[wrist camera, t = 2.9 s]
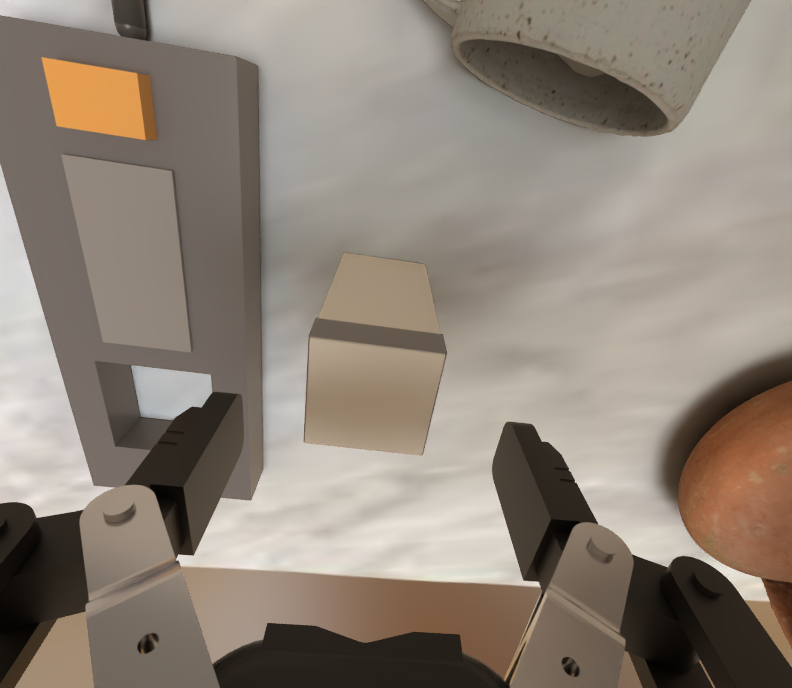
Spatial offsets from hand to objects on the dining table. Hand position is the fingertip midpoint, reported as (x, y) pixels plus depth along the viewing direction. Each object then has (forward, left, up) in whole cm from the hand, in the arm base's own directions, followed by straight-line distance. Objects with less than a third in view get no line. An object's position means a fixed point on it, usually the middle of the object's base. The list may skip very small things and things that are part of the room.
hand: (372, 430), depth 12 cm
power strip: (-2, -11, -10) cm, 15 cm away
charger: (-1, 0, -10) cm, 10 cm away
